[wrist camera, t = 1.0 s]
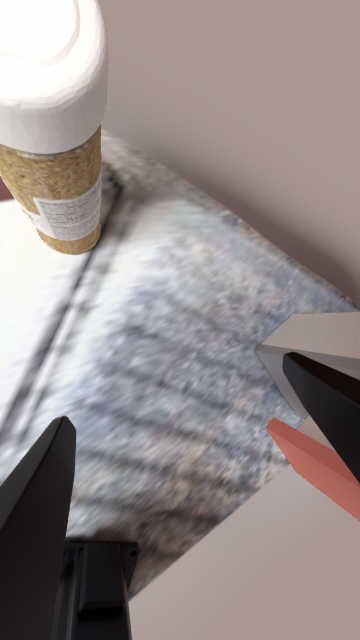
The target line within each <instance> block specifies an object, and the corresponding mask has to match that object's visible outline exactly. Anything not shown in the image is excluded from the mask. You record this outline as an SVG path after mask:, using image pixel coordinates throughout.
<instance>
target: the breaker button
mask: <svg viewBox="0 0 360 640" xmlns="http://www.w3.org/2000/svg"><path fill="white" fill-rule="evenodd" d="M266 429H267V430H268V431H269V433H270V434H271V436H272V437H273V439H274V440H275V442H276V443H277V445H278V446H279V448H280V449H281V451H282V452H283V453H284V455H285V456H286V458H287V459H288V461H289V462H290V464H291V465H292V467H293V468H294V470H295V471H296V472H297V473H298V474H299V475H301V476H302V477H303V478H304V479H306V480H307V481H309V482H310V483H311V484H312V485H314V486H315V487H316V488H317V489H319V490H320V491H321V492H323V493H324V494H325V495H327V496H328V497H329V498H331V499H332V500H333V501H334V502H336V503H337V504H338V505H340V506H341V507H342V508H343V509H345V510H346V511H347V512H349V513H350V514H351V515H353V516H354V517H355V518H356V519H358V520H359V521H360V484H359V482H358V481H357V480H356V478H355V477H354V475H353V474H352V473H351V471H350V470H349V469H348V467H347V466H346V464H345V463H344V462H343V460H342V459H341V458H340V456H339V455H338V453H337V452H336V451H335V449H334V448H333V447H332V445H331V444H330V443H329V441H328V440H327V438H326V437H325V436H324V434H323V433H322V432H321V430H320V429H319V427H318V426H317V425H316V423H315V422H314V421H313V419H312V418H311V416H310V415H309V416H308V417H307V418H306V419H305V421H304V422H303V423H302V424H301V425H300V426H299V428H298V429H297V430H296V429H294V428H292V427H290V426H289V425H287V424H285V423H283V422H281V421H280V420H278V419H276V418H273V419H272V420H271V421H270V423H269V424H268V425H267V426H266Z"/></svg>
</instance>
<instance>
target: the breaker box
mask: <svg viewBox="0 0 360 640" xmlns="http://www.w3.org/2000/svg"><path fill="white" fill-rule="evenodd" d="M254 351H255V352H256V354H257V356H258V357H259V359H260V360H261V362H262V363H263V365H264V367H265V368H266V370H267V371H268V373H269V374H270V376H271V378H272V379H273V381H274V382H275V384H276V385H277V387H278V389H279V390H280V392H281V393H282V395H283V397H284V398H285V400H286V401H287V403H288V404H289V406H290V408H291V409H292V411H293V412H294V414H296V415H298V416H300V417H302V418H304V419H306V418H307V417H308V416H309V414H308V412H307V411H306V410H305V408H304V407H303V405H302V404H301V402H300V400H299V399H298V397H297V395H296V393H295V392H294V390H293V388H292V387H291V385H290V383H289V381H288V380H287V378H286V376H285V374H284V373H283V370H282V364H283V355H284V354H285V353H288V352H292V351H294V352H297V353H299V354H302V355H304V356H306V357H309V358H311V359H313V360H315V361H318V362H320V363H322V364H325V365H327V366H329V367H331V368H334V369H336V370H338V371H341V372H343V373H345V374H347V375H350V376H352V377H354V378H356V379H359V380H360V312H338V313H305V314H292V315H291V316H290V317H289V318H288V319H287V320H286V321H285V322H283V323H282V324H281V325H280V326H279V327H278V328H277V329H276V330H275V331H274V332H273V333H272V334H271V335H270V336H269V337H268V338H266V339H265V340H264V341H263V342H262V343H261V344H260V345H259V346H258V347H257V348H256V349H255V350H254Z"/></svg>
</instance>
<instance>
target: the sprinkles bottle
mask: <svg viewBox="0 0 360 640" xmlns="http://www.w3.org/2000/svg"><path fill="white" fill-rule="evenodd" d="M107 90H108V37H107V30H106V25H105V21H104V17H103V14H102V10H101V7H100V4H99V2H98V0H0V176H1V178H2V179H3V181H4V183H5V184H6V186H7V187H8V189H9V190H10V191H11V193H12V195H13V196H14V198H15V199H16V201H17V202H18V204H19V205H20V207H21V208H22V210H23V211H24V213H25V214H26V216H27V217H28V219H29V220H30V221H31V223H32V224H33V225H34V226H35V227H36V229H37V232H38V234H39V236H40V237H41V238H42V240H43V241H44V242H45V243H46V244H47V245H48V246H49V247H51V248H53V249H54V250H56V251H59V252H61V253H65V254H72V255H77V254H80V253H84V252H86V251H89V250H90V249H91V248H93V247H94V246H95V245H96V243H97V241H98V239H99V237H100V233H101V225H100V220H99V219H100V210H101V180H102V157H101V122H102V120H103V117H104V114H105V110H106V105H107Z"/></svg>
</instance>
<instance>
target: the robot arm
mask: <svg viewBox="0 0 360 640" xmlns="http://www.w3.org/2000/svg"><path fill="white" fill-rule="evenodd" d="M282 370H283V373H284V374H285V376H286V378H287V380H288V381H289V383H290V385H291V387H292V388H293V390H294V392H295V393H296V395H297V397H298V399H299V400H300V402H301V404H302V405H303V407H304V408H305V410H306V411H307V412H308V414H309V415H310V416H311V418H312V419H313V421H314V422H315V423H316V425H317V426H318V427H319V429H320V430H321V432H322V433H323V434H324V436H325V437H326V438H327V440H328V441H329V443H330V444H331V445H332V447H333V448H334V449H335V451H336V452H337V453H338V455H339V456H340V458H341V459H342V460H343V462H344V463H345V464H346V466H347V467H348V469H349V470H350V471H351V473H352V474H353V475H354V477H355V478H356V480H357V481H358V482H359V484H360V380H359V379H356V378H354V377H352V376H350V375H347V374H345V373H343V372H341V371H338V370H336V369H334V368H331V367H329V366H327V365H325V364H322V363H320V362H318V361H315V360H313V359H311V358H309V357H306V356H304V355H302V354H299V353H297V352H294V351H292V352H288V353H285V354H284V355H283V364H282ZM75 453H76V429H75V427H74V425H73V424H72V423H71V421H70V420H69V419H68V417H67V416H61V417H58V418H55V419H54V420H53V421H52V422H51V423H50V424H49V426H48V427H47V428H46V429H45V431H44V432H43V433H42V434H41V436H40V437H39V438H38V440H37V441H36V442H35V443H34V445H33V446H32V447H31V448H30V450H29V451H28V452H27V453H26V455H25V456H24V457H23V458H22V460H21V461H20V462H19V463H18V465H17V466H16V467H15V468H14V470H13V471H12V472H11V473H10V475H9V476H8V477H7V479H6V480H5V481H4V482H3V484H2V485H1V486H0V640H132V635H131V625H130V615H129V606H128V596H127V592H128V589H129V586H130V582H131V579H132V576H133V572H134V569H135V566H136V562H137V559H138V556H139V545H138V544H137V543H135V542H65V537H66V530H67V524H68V517H69V510H70V503H71V496H72V489H73V482H74V474H75ZM133 550H135V551H133ZM63 551H64V552H63ZM132 551H133V552H132Z"/></svg>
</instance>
